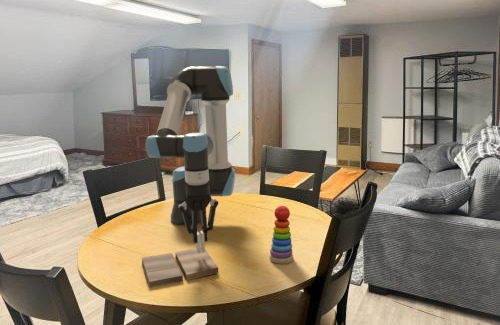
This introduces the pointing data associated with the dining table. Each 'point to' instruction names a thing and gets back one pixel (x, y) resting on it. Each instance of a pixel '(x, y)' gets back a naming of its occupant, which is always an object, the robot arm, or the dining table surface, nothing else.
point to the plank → (196, 263)
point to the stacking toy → (281, 237)
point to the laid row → (161, 270)
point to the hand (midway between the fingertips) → (200, 251)
